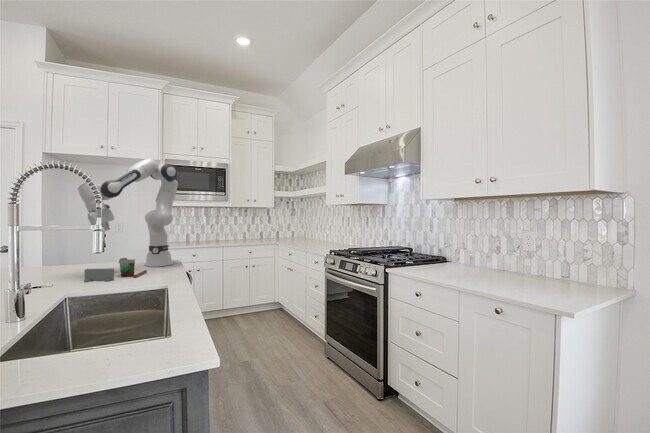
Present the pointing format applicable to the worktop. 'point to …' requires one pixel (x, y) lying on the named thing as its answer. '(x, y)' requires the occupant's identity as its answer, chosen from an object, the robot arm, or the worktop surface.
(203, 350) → the worktop surface
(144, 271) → the rail
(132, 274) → the food container
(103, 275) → the screen
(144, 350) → the worktop surface
